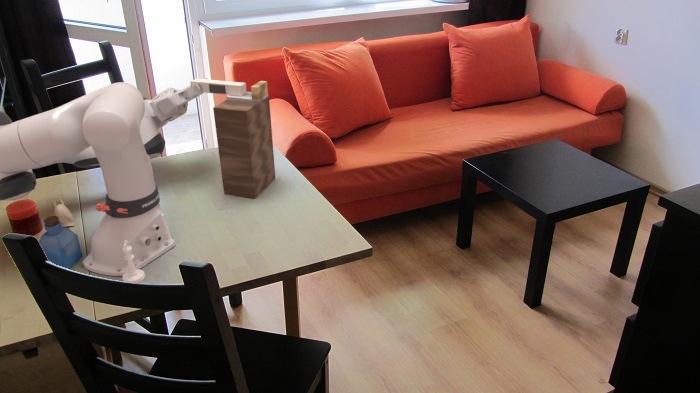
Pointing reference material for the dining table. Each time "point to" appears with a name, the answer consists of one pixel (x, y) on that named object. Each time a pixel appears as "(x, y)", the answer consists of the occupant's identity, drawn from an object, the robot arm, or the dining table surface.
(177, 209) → the dining table surface
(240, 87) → the bar
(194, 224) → the dining table surface
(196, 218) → the dining table surface
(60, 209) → the decorative ornament
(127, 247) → the chess piece
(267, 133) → the wooden block tower
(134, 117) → the robot arm
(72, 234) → the perfume bottle
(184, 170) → the dining table surface
